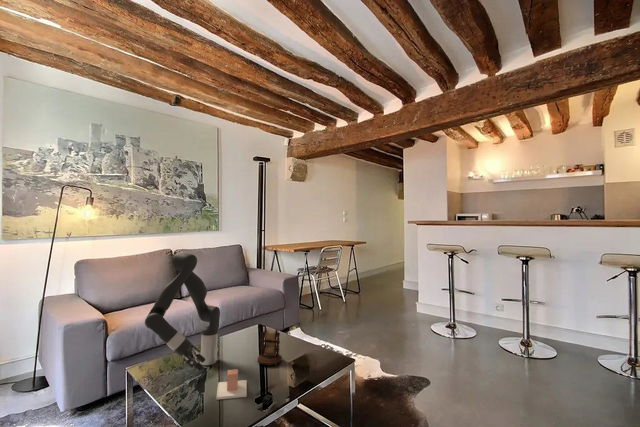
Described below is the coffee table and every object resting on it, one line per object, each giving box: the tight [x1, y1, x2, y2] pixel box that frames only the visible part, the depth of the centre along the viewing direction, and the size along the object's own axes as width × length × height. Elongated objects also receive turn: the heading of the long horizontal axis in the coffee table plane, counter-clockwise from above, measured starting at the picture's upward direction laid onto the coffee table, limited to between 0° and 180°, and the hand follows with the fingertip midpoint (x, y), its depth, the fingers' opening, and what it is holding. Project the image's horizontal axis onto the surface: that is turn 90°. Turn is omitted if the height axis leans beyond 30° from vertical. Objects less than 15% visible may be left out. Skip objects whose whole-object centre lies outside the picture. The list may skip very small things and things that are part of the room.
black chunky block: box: [256, 394, 274, 412], centre depth 144 cm, size 12×7×5 cm, turn 155°
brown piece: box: [257, 328, 283, 366], centre depth 190 cm, size 15×15×20 cm
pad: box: [215, 379, 248, 401], centre depth 156 cm, size 14×14×1 cm
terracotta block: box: [226, 368, 239, 391], centre depth 157 cm, size 5×5×8 cm
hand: (203, 365), depth 154 cm, fingers open, 8 cm apart
